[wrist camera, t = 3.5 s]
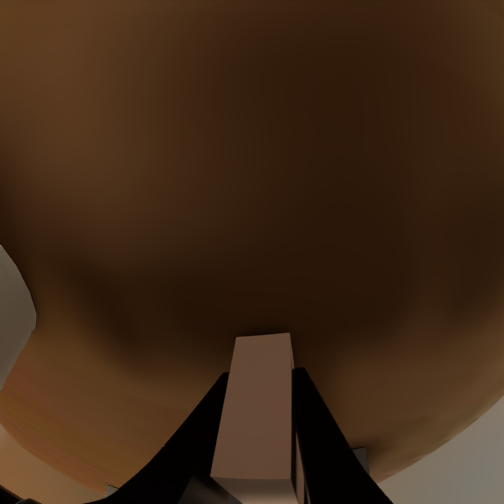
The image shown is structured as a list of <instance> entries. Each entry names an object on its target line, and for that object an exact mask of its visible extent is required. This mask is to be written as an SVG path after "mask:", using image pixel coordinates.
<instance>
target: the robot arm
mask: <svg viewBox="0 0 504 504" xmlns="http://www.w3.org/2000/svg"><path fill="white" fill-rule="evenodd" d="M229 374H230V372H224V373H223V374H222V375H221V376H220V377H219V379H218V380H217V381H216V383H215V384H214V385H213V386H212V388H211V389H210V390H209V391H208V393H207V394H206V395H205V396H204V398H203V399H202V400H201V401H200V403H199V404H198V405H197V406H196V408H195V409H194V410H193V411H192V413H191V414H190V415H189V416H188V418H187V419H186V420H185V421H184V422H183V424H182V425H181V426H180V427H179V428H178V430H177V431H176V432H175V433H174V434H173V436H172V437H171V438H170V439H169V440H168V441H167V443H166V444H165V445H164V446H165V447H162V448H161V449H160V451H159V452H158V453H157V454H156V455H155V456H154V457H153V458H152V459H151V461H150V462H149V463H148V464H147V465H146V466H145V467H143V468H142V469H141V470H140V471H139V472H138V473H137V474H136V475H135V476H133V477H132V478H131V479H130V480H129V481H127V482H126V483H125V484H124V485H123V486H121V487H120V488H119V489H118V490H116V491H115V492H114V493H113V494H111V495H109V496H108V497H106V498H103V499H101V500H97V501H93V502H89V503H84V504H227V502H228V497H229V492H228V491H227V490H225V489H224V488H223V487H222V486H221V485H219V484H218V483H217V482H216V481H215V480H214V479H213V478H212V477H210V474H211V469H212V464H213V459H214V453H215V448H216V443H217V437H218V432H219V427H220V421H221V416H222V411H223V405H224V400H225V395H226V390H227V384H228V379H229ZM292 407H293V413H294V420H295V427H296V433H297V439H298V445H299V451H300V457H301V462H302V468H303V474H304V480H305V486H306V492H307V498H308V504H393V503H392V501H390V499H389V498H388V497H387V496H386V495H385V494H384V492H383V491H382V490H381V489H380V488H379V487H378V485H377V484H376V483H375V482H374V481H373V480H372V478H371V477H370V476H369V474H368V473H367V472H366V470H365V469H364V468H363V466H362V465H361V463H360V462H359V460H358V459H357V457H356V455H355V454H354V452H353V450H352V449H351V447H349V444H348V442H347V440H346V439H345V437H344V435H343V433H342V432H341V430H340V428H339V427H338V425H337V423H336V421H335V420H334V418H333V416H332V414H331V413H330V411H329V409H328V408H327V406H326V404H325V402H324V401H323V399H322V397H321V395H320V394H319V392H318V390H317V388H316V387H315V385H314V383H313V381H312V380H311V378H310V376H309V374H308V373H307V371H306V369H305V368H303V367H301V368H293V369H292ZM0 504H41V503H39V502H37V501H35V500H33V499H30V498H28V499H25V500H24V499H22V498H20V497H19V496H17V495H15V494H14V493H12V492H11V491H9V490H7V489H6V488H4V487H3V486H1V485H0Z"/></svg>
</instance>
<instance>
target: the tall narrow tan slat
mask: <svg viewBox="0 0 504 504" xmlns="http://www.w3.org/2000/svg"><path fill="white" fill-rule="evenodd" d="M293 368H294V361H293V353H292V345H291V338H290V333H281V334H271V335H259V336H246V337H236V342H235V347H234V352H233V358H232V363H231V368H230V374H229V379H228V384H227V390H226V395H225V400H224V405H223V411H222V416H221V421H220V427H219V432H218V437H217V443H216V448H215V453H214V459H213V464H212V469H211V474H210V477H212V478H213V479H214V480H215V481H216V482H217V483H218V484H219V485H221V486H222V487H223V488H224V489H225V490H227V491H228V492H229V493H230V494H231V495H233V496H234V497H235V498H236V499H238V500H239V501H240V502H241V503H243V504H304V474H303V468H302V462H301V457H300V451H299V445H298V439H297V433H296V427H295V420H294V413H293V407H292V369H293Z"/></svg>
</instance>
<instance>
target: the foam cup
mask: <svg viewBox="0 0 504 504" xmlns="http://www.w3.org/2000/svg"><path fill="white" fill-rule="evenodd" d="M35 328H36V311H35V307H34V304H33V301H32V298H31V294H30V291H29V289H28V287H27V286H26V284H25V282H24V280H23V278H22V276H21V274H20V272H19V270H18V268H17V266H16V265H15V263H14V262H13V261H12V259H11V258H10V256H9V255H8V254H7V252H6V251H5V249H4V248H3V247H2V245H1V244H0V391H1V389H2V387H3V385H4V383H5V381H6V379H7V377H8V375H9V373H10V371H11V369H12V367H13V366H14V364H15V362H16V360H17V358H18V357H19V355H20V353H21V351H22V350H23V348H24V346H25V344H26V343H27V341H28V339H29V338H30V336H31V332H32V331H33V330H34V329H35Z"/></svg>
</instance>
